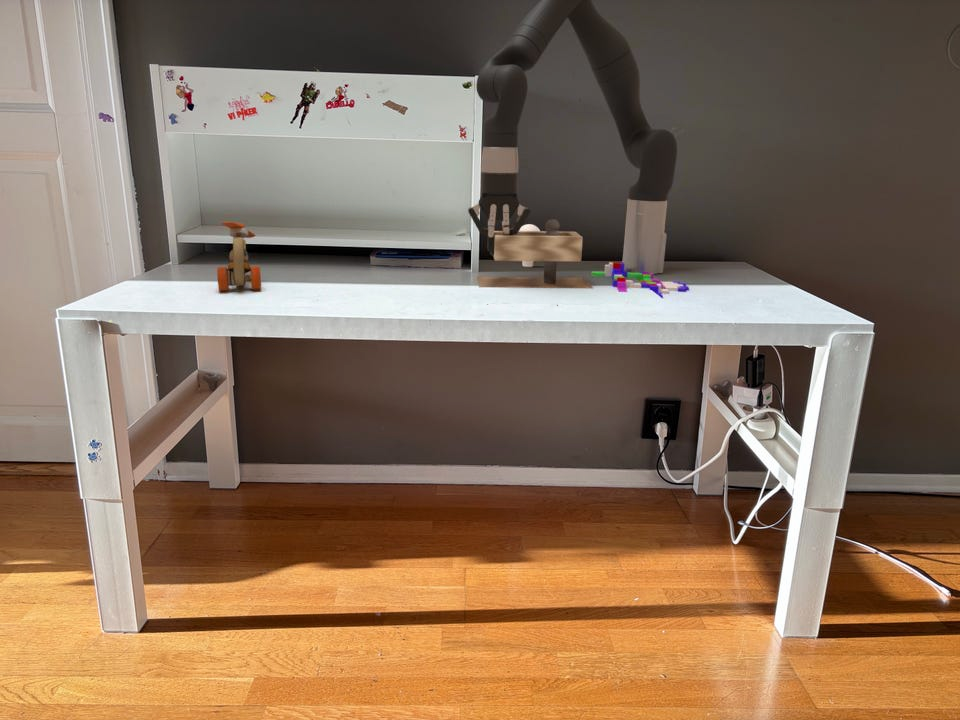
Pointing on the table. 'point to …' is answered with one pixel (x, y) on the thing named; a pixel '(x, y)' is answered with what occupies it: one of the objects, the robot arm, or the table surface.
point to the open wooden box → (537, 246)
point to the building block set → (644, 277)
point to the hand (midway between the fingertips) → (497, 254)
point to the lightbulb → (528, 228)
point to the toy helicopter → (238, 261)
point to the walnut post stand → (537, 282)
